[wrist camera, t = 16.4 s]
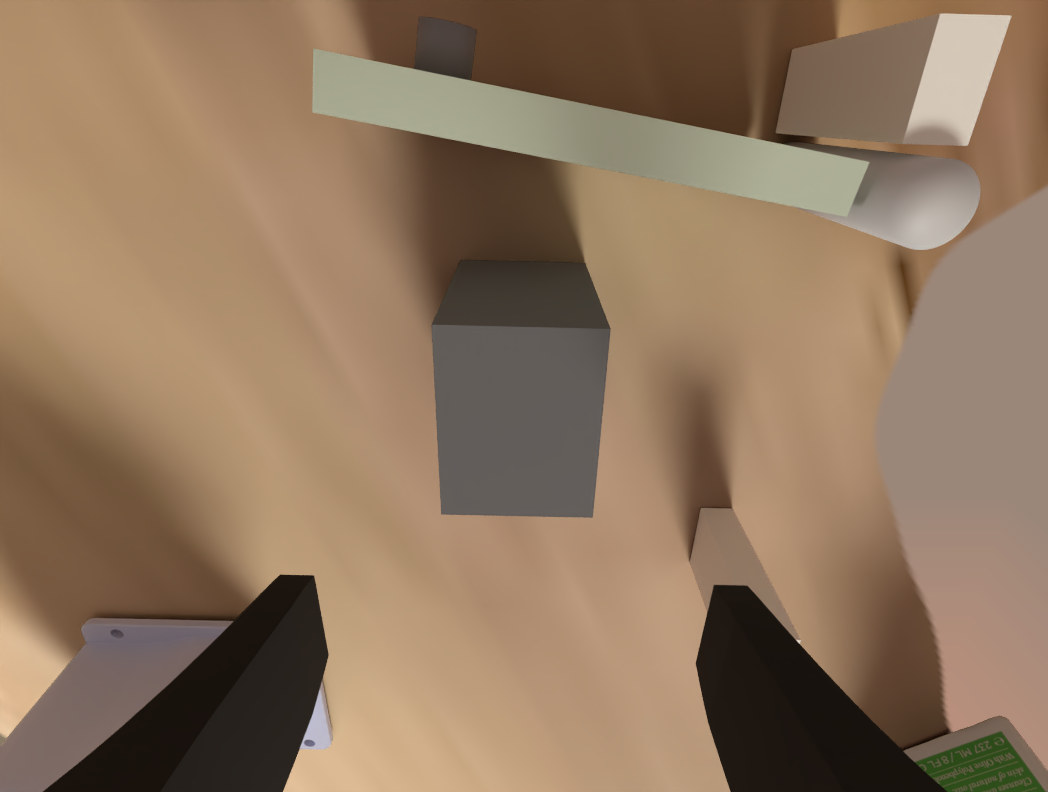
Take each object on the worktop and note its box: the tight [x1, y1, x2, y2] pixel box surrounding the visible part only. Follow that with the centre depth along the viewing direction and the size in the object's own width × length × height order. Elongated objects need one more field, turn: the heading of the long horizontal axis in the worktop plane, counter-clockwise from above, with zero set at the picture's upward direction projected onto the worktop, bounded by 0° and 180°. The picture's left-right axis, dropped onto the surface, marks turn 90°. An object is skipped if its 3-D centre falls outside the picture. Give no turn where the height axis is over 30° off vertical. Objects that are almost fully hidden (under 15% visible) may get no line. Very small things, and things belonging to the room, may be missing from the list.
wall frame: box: [690, 14, 1011, 644], centre depth 16 cm, size 2×18×6 cm, turn 178°
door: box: [312, 17, 869, 217], centre depth 13 cm, size 2×10×6 cm, turn 80°
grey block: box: [432, 260, 610, 518], centre depth 16 cm, size 4×5×6 cm
